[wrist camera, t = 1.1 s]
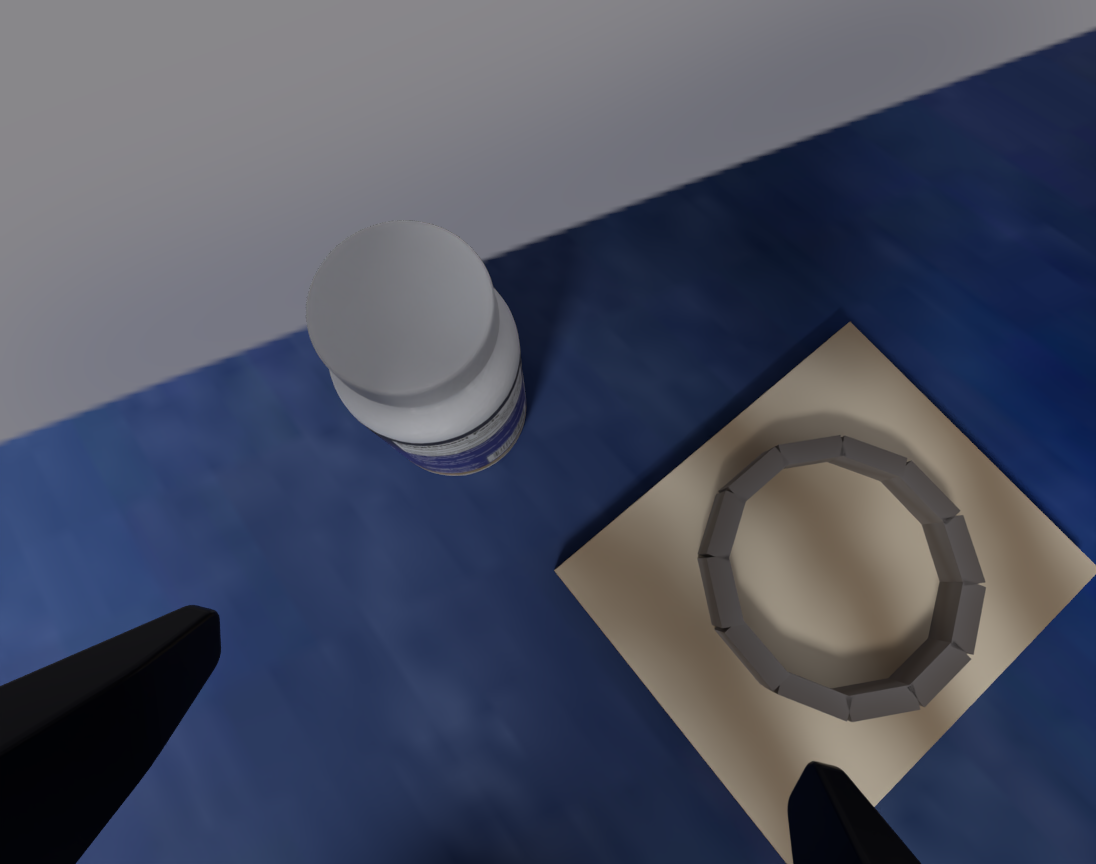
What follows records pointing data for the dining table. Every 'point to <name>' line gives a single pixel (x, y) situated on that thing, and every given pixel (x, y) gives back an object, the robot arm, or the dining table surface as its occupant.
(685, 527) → the collar board
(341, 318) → the pill bottle
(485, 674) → the dining table surface
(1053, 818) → the dining table surface
